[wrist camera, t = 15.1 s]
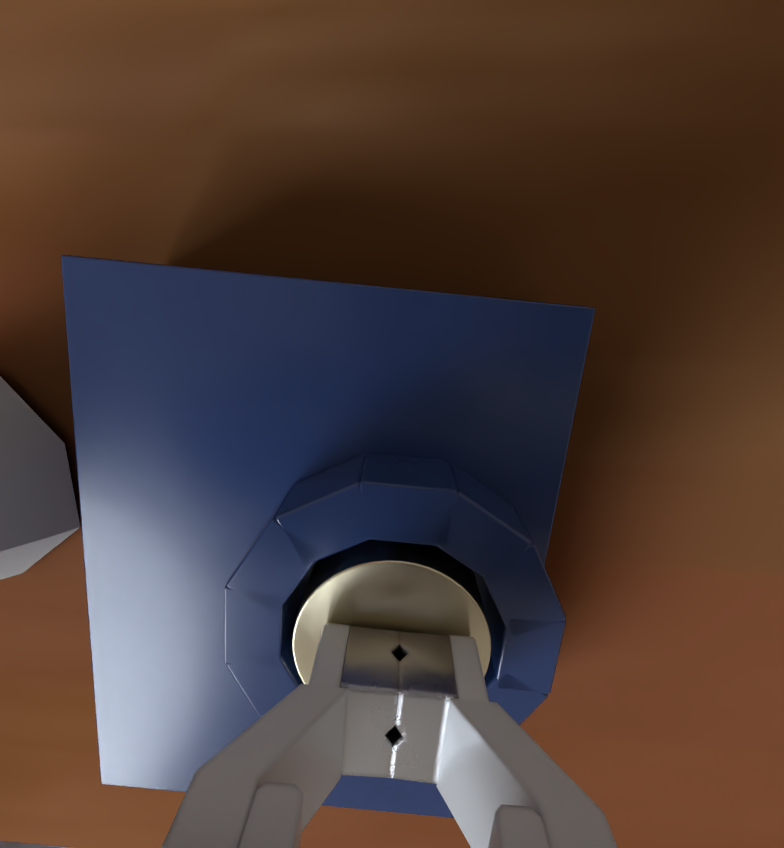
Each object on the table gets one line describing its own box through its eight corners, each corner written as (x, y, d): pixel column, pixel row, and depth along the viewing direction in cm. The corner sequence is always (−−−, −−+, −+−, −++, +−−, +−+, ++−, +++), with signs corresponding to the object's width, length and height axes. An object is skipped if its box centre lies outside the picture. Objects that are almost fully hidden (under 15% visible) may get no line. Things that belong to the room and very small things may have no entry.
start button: (312, 511, 11) (295, 551, 9) (489, 528, 11) (506, 571, 9) (304, 661, 12) (287, 721, 10) (465, 676, 12) (476, 739, 10)
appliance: (161, 268, 14) (-17, 244, 8) (539, 305, 14) (639, 309, 8) (171, 670, 17) (53, 858, 11) (472, 700, 17) (507, 902, 11)
